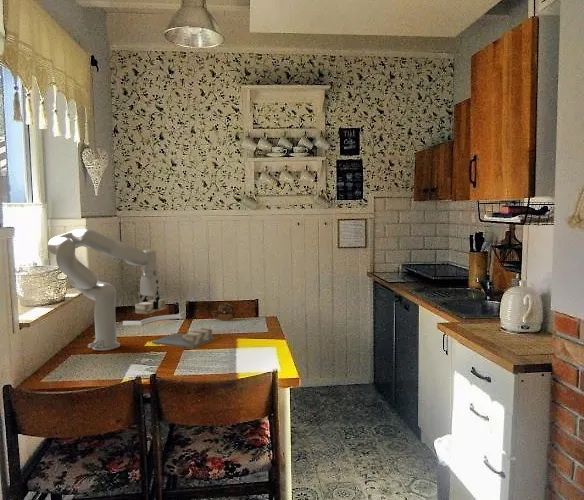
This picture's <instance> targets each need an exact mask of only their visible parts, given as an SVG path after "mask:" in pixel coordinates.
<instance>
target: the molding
mask: <svg viewBox="0 0 584 500" xmlns="http://www.w3.org/2000/svg"><path fill="white" fill-rule="evenodd" d="M186 313H187V312H186V311H184V310H183V311H182V312H179V313H176V314H165V315H158V316H152V317H148V318H144V319H141V320H123V321H122V326H123V327H125V326H126V327H127V326H132V327H134V326H133V325H142V326H144V325H147V324H150V323H153V322H159V321H165V320H176V319H177V320H178V319H179V320H180V319H183V318H185V317H186V316H187V315H186ZM149 322H150V323H149Z"/></svg>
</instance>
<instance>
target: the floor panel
mask: <svg viewBox="0 0 584 500" xmlns="http://www.w3.org/2000/svg"><path fill="white" fill-rule="evenodd" d="M185 334H186V333H185ZM185 334H184V333H178V332H177V333H176V332H175V333H172V334H169V335H167V336H164V337H160V338H158V339H155V340H152V341H151V344H152V343H154V344H155V345H160V344H162V346H168V345H171V347H176V346H178V347H177V348H184V347H185V349H186V348H188V349H196V348H198V347H201V346H203V345H206V344H208V343H210V342H212V341H214V340H215V339H216V337H214V336H212V338H211V339H208V340H206V341H203V342H201V343H199V344H196V345H194V346H190V345H186V342H183V338H182V335H185Z"/></svg>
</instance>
